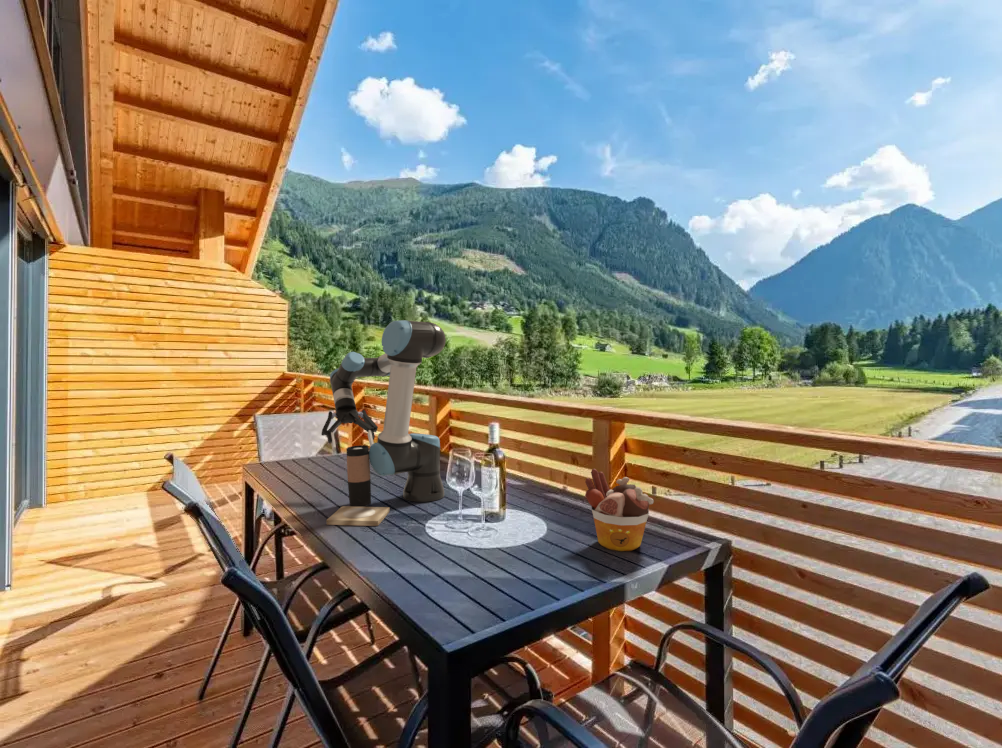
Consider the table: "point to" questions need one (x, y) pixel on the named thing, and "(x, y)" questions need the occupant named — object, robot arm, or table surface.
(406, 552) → the table surface
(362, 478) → the travel mug
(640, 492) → the bucket of meat
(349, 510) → the coaster board
